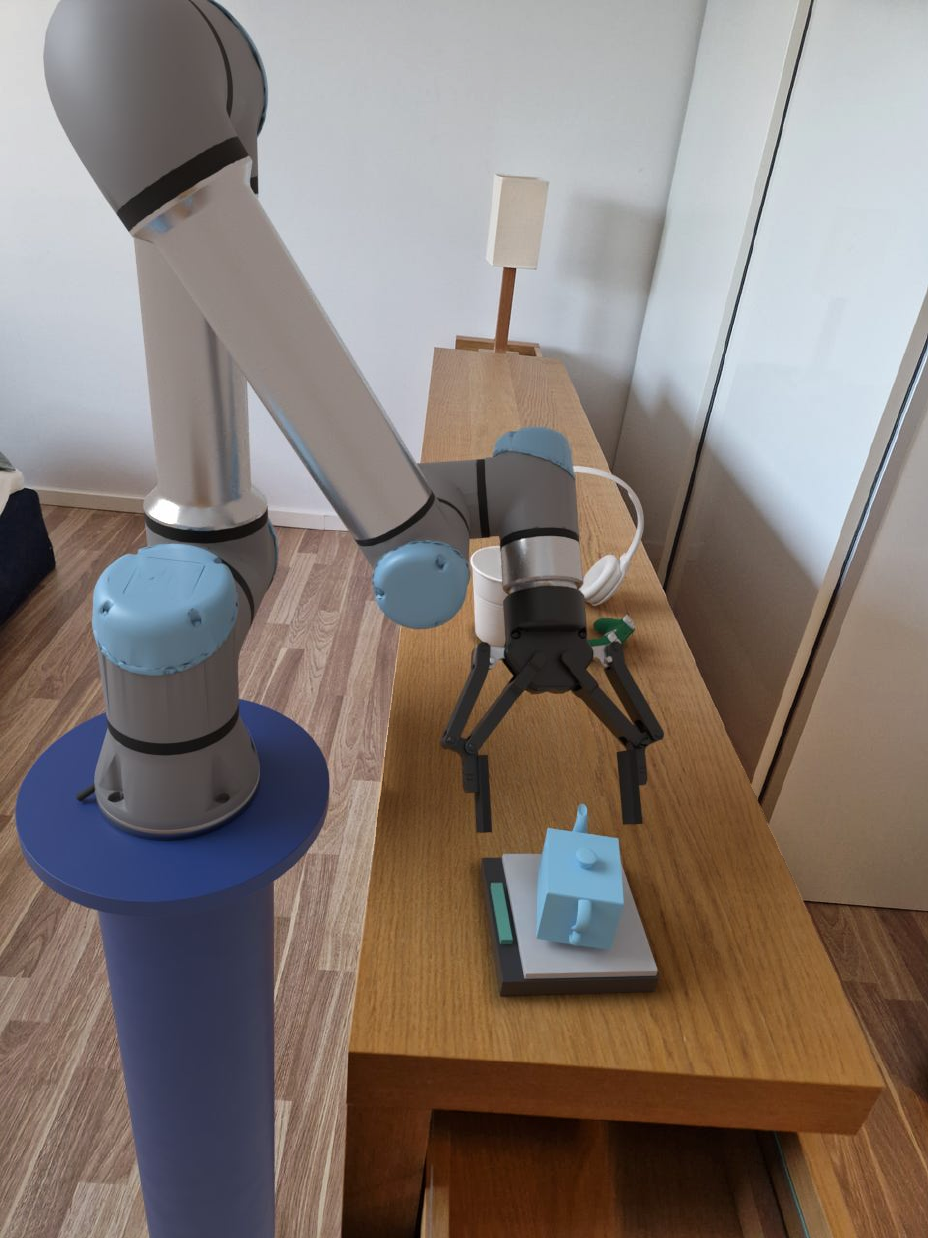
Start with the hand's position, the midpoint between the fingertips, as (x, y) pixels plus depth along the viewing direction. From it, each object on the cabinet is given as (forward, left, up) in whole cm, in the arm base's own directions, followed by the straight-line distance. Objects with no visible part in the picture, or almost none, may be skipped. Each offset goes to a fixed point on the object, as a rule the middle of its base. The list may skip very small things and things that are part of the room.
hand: (559, 829), depth 76 cm
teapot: (+1, -4, -5) cm, 7 cm away
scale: (+1, -4, -8) cm, 9 cm away
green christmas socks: (+16, +41, -8) cm, 44 cm away
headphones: (+13, +54, -8) cm, 56 cm away
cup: (+2, +43, -8) cm, 43 cm away
